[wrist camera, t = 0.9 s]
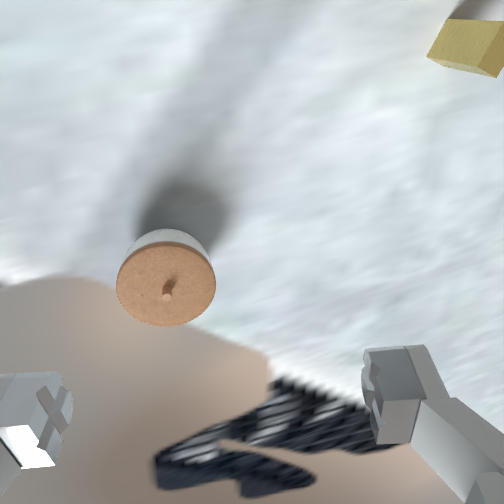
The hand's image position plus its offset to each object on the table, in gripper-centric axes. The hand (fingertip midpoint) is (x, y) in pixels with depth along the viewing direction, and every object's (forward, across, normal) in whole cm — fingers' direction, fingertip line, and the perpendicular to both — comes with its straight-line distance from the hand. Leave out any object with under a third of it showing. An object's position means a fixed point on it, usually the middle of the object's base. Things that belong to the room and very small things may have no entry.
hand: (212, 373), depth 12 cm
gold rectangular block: (+43, -23, +2) cm, 49 cm away
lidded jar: (+36, +10, +22) cm, 44 cm away
